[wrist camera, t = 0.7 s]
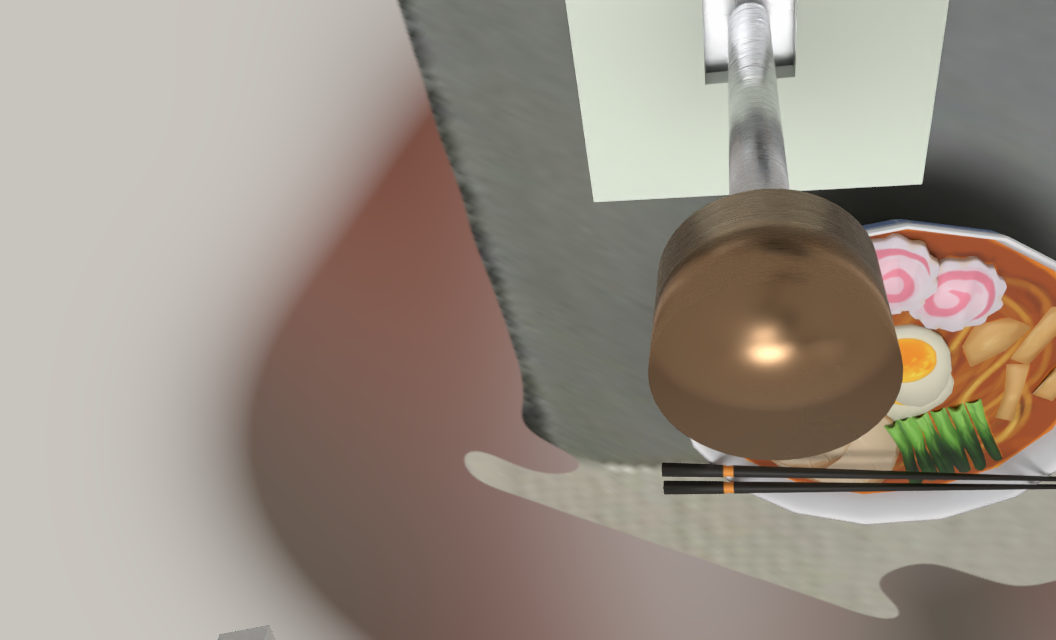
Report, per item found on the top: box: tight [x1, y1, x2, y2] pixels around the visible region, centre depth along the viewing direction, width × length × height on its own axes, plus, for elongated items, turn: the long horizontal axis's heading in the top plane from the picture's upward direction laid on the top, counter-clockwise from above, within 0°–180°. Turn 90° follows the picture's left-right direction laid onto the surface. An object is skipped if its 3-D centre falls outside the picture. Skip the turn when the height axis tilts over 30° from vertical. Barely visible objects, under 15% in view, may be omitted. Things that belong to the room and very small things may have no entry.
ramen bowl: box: [662, 219, 1056, 525], centre depth 47 cm, size 25×23×8 cm
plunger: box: [648, 0, 903, 460], centre depth 22 cm, size 9×9×19 cm
